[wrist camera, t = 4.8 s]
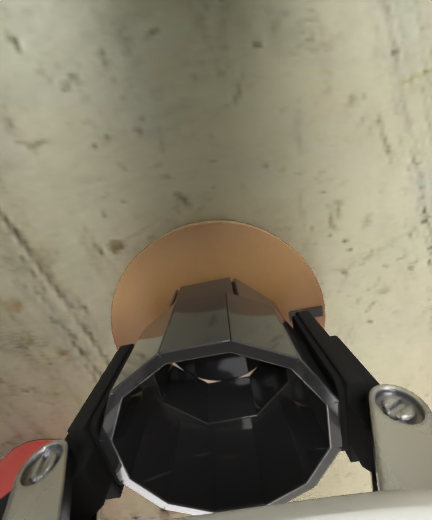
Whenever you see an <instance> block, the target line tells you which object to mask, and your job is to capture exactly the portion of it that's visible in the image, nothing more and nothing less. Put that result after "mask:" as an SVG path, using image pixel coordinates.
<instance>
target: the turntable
mask: <svg viewBox="0 0 432 520" xmlns="http://www.w3.org/2000/svg"><path fill="white" fill-rule="evenodd" d="M227 277H230V278H231V282H232V280H233V279H234V278H236V279H238V280H239V281H241V282H243V283H244V284H246V285H247V286H249V287H251V288H252V289H254V290H256V291H257V292H259V293H260V294H262V295H264V296H265V297H267V298H269V299H270V300H272V301H273V302H275V304H276V305H277V307H278V308H279V310H280V312H281V313H282V315H283V317H284V319H285V320H286V321H287V322H288V323H289V324H290V326H291V327H292V328H293V323H292V316H295V313H296V312H300V311H306V310H308V311H309V312H310V313H311V314H312V315H313V317H314V318H315V319H316V320H317V321H318V323H319V324H320V325H321V326H322V328H323V329H324V326H325V304H324V300H323V295H322V291H321V288H320V286H319V283H318V280H317V279H316V277H315V275H314V273H313V272H312V270H311V268H310V267H309V266H308V264H307V263H306V262H305V260H304V259H303V258H302V257H301V256H300V255H299V254H298V253H297V252H296V251H295V250H294V249H293V248H292V247H290V246H289V245H287V244H286V243H285V242H283V241H282V240H280V239H279V238H277V237H276V236H274V235H272V234H270V233H269V232H267V231H265V230H263V229H260V228H258V227H255V226H252V225H249V224H245V223H240V222H236V221H225V220H212V221H202V222H197V223H192V224H188V225H185V226H182V227H179V228H176V229H174V230H172V231H170V232H168V233H166V234H164V235H163V236H161V237H160V238H158V239H157V240H155V241H154V242H152V243H151V244H150V245H148V246H147V247H146V248H145V249H144V250H143V251H142V252H140V253H139V254H138V255H137V256H136V257H135V258H134V260H133V261H132V262H131V263H130V264H129V266H128V267H127V268H126V270H125V272H124V273H123V275H122V277H121V278H120V280H119V283H118V285H117V288H116V290H115V293H114V298H113V302H112V310H111V325H112V333H113V337H114V341H115V344H116V347H117V349H119V348H120V346H122V345H128V344H134V345H135V344H136V342H137V341H138V339H139V337H140V335H141V333H142V331H143V330H144V329H145V328H146V327H147V326H148V325H150V324H151V323H152V322H153V321H154V320H155V319H157V318H158V317H159V315H160V314H161V312H162V311H163V309H164V308H165V306H166V305H167V303H168V301H169V300H170V298H171V297H172V295H173V294H174V292H175V291H176V290H180V287H182V286H187V285H192V284H197V283H202V282H207V281H212V280H217V279H222V278H227ZM173 365H174V366H176V367H178V368H180V367H179V366H178V365H177V364H176V363H173ZM256 368H257V367H256ZM256 368H255V369H256ZM180 369H181V368H180ZM255 369H254V370H255ZM182 370H183V369H182ZM254 370H253V371H254ZM253 371H251V372H249V373H248V374H246V375H244V376H242V377H247V376H250V375H251V373H252V372H253ZM239 378H241V377H239ZM200 379H201V378H200ZM202 380H203V381H205V382H207V383H213V382H218V381H210V380H205V379H202Z"/></svg>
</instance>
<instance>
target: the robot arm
mask: <svg viewBox="0 0 432 520" xmlns="http://www.w3.org/2000/svg"><path fill="white" fill-rule="evenodd" d="M292 323H293V329H294V330H295V331H296V332H297V333H298V334H299V335H300V337H301V338H302V340H303V341H304V343H305V345H306V346H307V348H308V350H309V351H310V353H311V354H312V356H313V358H314V359H315V361H316V363H317V364H318V366H319V367H320V369H321V371H322V372H323V374H324V376H325V377H326V379H327V380H328V382H329V384H330V385H331V387H332V389H333V390H334V392H335V393H336V395H337V397H338V399H339V401H340V414H341V431H342V449H341V450H340V451H345V452H346V454H347V455H348V457H349V459H350V461H351V462H356V461H359V462H360V464H361V465H362V467H364V468H365V469H367V470H369V471H370V475H371V485H372V492H367V493H358V494H350V495H341V496H332V497H325V498H317V499H310V500H303V501H295V502H288V503H281V504H274V505H266V506H259V507H252V508H245V509H238V510H231V511H224V512H217V513H210V514H203V515H196V516H189V517H182V518H175V519H168V520H432V412H431V410H430V409H429V407H428V405H427V404H426V403H425V402H424V401H423V400H422V399H421V398H420V397H418V396H417V395H415V394H414V393H413V392H411V391H409V390H407V389H404V388H402V387H399V386H395V385H389V384H382V385H380V384H379V383H378V382H377V381H376V380H375V379H374V377H373V376H372V375H371V374H370V373H369V372H368V371H367V369H366V368H365V367H364V366H363V365H362V364H361V363H360V361H359V360H358V359H357V358H356V357H355V356H354V355H353V354H352V352H351V351H350V350H349V349H348V348H347V347H346V346H345V344H344V343H343V342H342V341H341V340H340V339H339V338H338V337H337V336H329V335H328V334H327V332H326V331H325V330H324V329H323V328H322V326H321V325H320V324H319V323H318V321H317V320H316V319H315V318H314V317H313V315H312V314H311V313H310V312H309V311H308V310H306V311H300V312H296V313H295V316H292ZM134 346H135V345H134V344H128V345H122V346H120V348H119V349H118V351H117V352H116V354H115V356H114V357H113V359H112V360H111V362H110V364H109V365H108V367H107V368H106V370H105V372H104V373H103V375H102V376H101V378H100V380H99V381H98V383H97V384H96V386H95V387H94V389H93V391H92V392H91V394H90V395H89V397H88V399H87V400H86V402H85V403H84V405H83V407H82V408H81V410H80V411H79V413H78V415H77V416H76V418H75V419H74V421H73V423H72V424H71V426H70V427H69V429H68V431H67V432H68V435H67V437H66V438H65V440H62V439H58V440H53V441H51V442H49V443H47V444H45V445H44V446H42V447H41V448H40V449H38V450H37V451H36V452H35V453H34V454H33V455H31V456H30V458H29V459H28V460H27V461H26V462H25V463H24V464H23V466H22V467H21V469H20V470H19V472H18V474H17V476H16V478H15V480H14V483H13V486H12V490H11V491H10V492H8V493H7V494H6V495H5V496H3V497H2V498H1V499H0V520H102V506H103V505H104V502H105V500H106V499H112V498H119V497H120V496H121V493H122V490H123V487H124V484H122V483H121V481H119V479H118V477H117V475H116V473H115V472H114V470H113V468H112V466H111V464H110V462H109V460H108V458H107V456H106V454H105V452H104V450H103V448H102V446H101V444H100V442H99V435H100V431H101V427H102V423H103V419H104V414H105V410H106V406H107V402H108V397H109V393H110V391H111V389H112V387H113V386H114V384H115V382H116V380H117V378H118V376H119V374H120V372H121V371H122V369H123V367H124V365H125V363H126V361H127V359H128V357H129V356H130V354H131V352H132V350H133V348H134Z"/></svg>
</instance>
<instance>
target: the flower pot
mask: <svg viewBox="0 0 432 520" xmlns="http://www.w3.org/2000/svg"><path fill="white" fill-rule="evenodd" d="M51 441H53V440H36V441H30V442H27V443H24V444H22V445H20V446H18V447H16V448H15V449H13V450H12V451H11V452H10V453H9V454H8V455H7V456H6V457H4V458H3V459H2V460H1V461H0V499H1V498H2V497H3V496H5V495H6V494H7V493H8V492H10V491H11V490H12V486H13V483H14V480H15V478H16V476H17V474H18V472H19V470H20V469H21V467H22V466H23V464H24V463H25V462H26V461H27V460H28V459H29V458H30V456H31V455H33V454H34V453H35V452H36V451H37V450H38V449H40V448H41V447H42V446H44V445H45V444H47V443H49V442H51Z"/></svg>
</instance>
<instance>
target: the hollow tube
mask: <svg viewBox="0 0 432 520" xmlns="http://www.w3.org/2000/svg"><path fill="white" fill-rule="evenodd" d="M173 363H176V364H177V365H178V366H179V367H180V368H181V369H180V368H178V367H176V366H174V365H173ZM256 367H257V368H256ZM255 368H256V369H255ZM182 369H183V370H182ZM254 369H255V370H254ZM253 370H254V371H253ZM251 371H253V372H252V373H251V375H250V376H247V377H242V376H244V375H246V374H248V373H249V372H251ZM239 377H241V378H239ZM200 378H201V379H200ZM202 379H205V380H210V381H218V382H213V383H207V382H205V381H203V380H202ZM99 442H100V444H101V446H102V448H103V450H104V452H105V454H106V456H107V458H108V460H109V462H110V464H111V466H112V468H113V470H114V472H115V473H116V475H117V477H118V479H119V481H121V483H122V484H124V485H125V486H127V487H129V488H130V489H132V490H133V491H135V492H136V493H138V494H140V495H141V496H143V497H144V498H146V499H147V500H149V501H151V502H152V503H154V504H155V505H157V506H158V507H160V508H164V509H165V510H170V511H175V512H181V513H186V514H191V515H203V514H210V513H217V512H224V511H231V510H238V509H245V508H252V507H259V506H266V505H274V504H281V503H286V502H288V501H290V500H292V499H294V498H296V497H297V496H299V495H301V494H303V493H305V492H307V491H309V490H310V489H312V488H314V486H316V485H317V484H318V482H319V481H320V479H321V478H322V477H323V475H324V474H325V472H326V471H327V469H328V468H329V466H330V465H331V464H332V462H333V461H334V459H335V458H336V456H337V455H338V453H339V452H340V450H341V449H342V431H341V414H340V401H339V399H338V397H337V395H336V393H335V392H334V390H333V389H332V387H331V385H330V384H329V382H328V380H327V379H326V377H325V376H324V374H323V372H322V371H321V369H320V367H319V366H318V364H317V363H316V361H315V359H314V358H313V356H312V354H311V353H310V351H309V350H308V348H307V346H306V345H305V343H304V341H303V340H302V338H301V337H300V335H299V334H298V333H297V332H296V331H295V330H294V329H293V328H292V327H291V326H290V324H289V323H288V322H287V321H286V320H285V319H284V317H283V315H282V313H281V312H280V310H279V308H278V307H277V305H276V304H275V302H273V301H272V300H270V299H269V298H267V297H265V296H264V295H262V294H260V293H259V292H257V291H256V290H254V289H252V288H251V287H249V286H247V285H246V284H244V283H243V282H241V281H239V280H238V279H236V278H234V279H233V280H232V282H231V278H230V277H227V278H222V279H217V280H212V281H207V282H202V283H197V284H192V285H187V286H182V287H180V290H176V291H175V292H174V294H173V295H172V297H171V298H170V300H169V301H168V303H167V305H166V306H165V308H164V309H163V311H162V312H161V314H160V315H159V317H158V318H157V319H155V320H154V321H153V322H152V323H151V324H150V325H148V326H147V327H146V328H145V329H144V330H143V331H142V333H141V335H140V337H139V339H138V341H137V342H136V344H135V346H134V348H133V350H132V352H131V354H130V356H129V357H128V359H127V361H126V363H125V365H124V367H123V369H122V371H121V372H120V374H119V376H118V378H117V380H116V382H115V384H114V386H113V387H112V389H111V391H110V393H109V397H108V402H107V406H106V410H105V414H104V419H103V423H102V427H101V431H100V435H99Z"/></svg>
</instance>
